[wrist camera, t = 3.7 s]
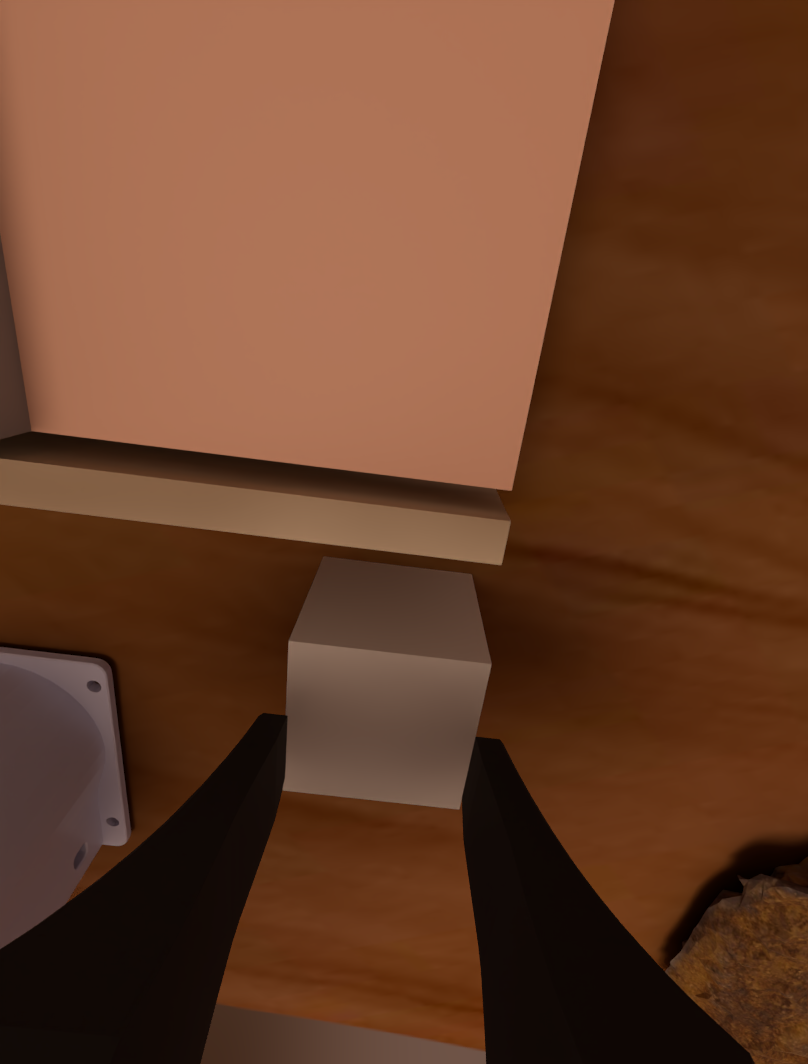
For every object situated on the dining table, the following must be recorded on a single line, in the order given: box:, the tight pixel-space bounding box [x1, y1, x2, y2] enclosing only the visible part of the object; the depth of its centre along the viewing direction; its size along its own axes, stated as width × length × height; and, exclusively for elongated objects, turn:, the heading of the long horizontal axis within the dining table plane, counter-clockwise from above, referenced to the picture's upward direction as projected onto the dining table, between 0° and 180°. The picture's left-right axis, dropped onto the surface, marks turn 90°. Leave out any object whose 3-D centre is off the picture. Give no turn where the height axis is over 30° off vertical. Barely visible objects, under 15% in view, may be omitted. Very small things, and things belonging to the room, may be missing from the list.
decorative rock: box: [665, 856, 808, 1064], centre depth 22 cm, size 11×4×15 cm
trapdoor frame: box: [0, 431, 511, 565], centre depth 11 cm, size 13×16×6 cm
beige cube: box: [283, 556, 492, 809], centre depth 16 cm, size 5×5×5 cm
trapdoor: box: [0, 0, 615, 491], centre depth 8 cm, size 10×14×3 cm
